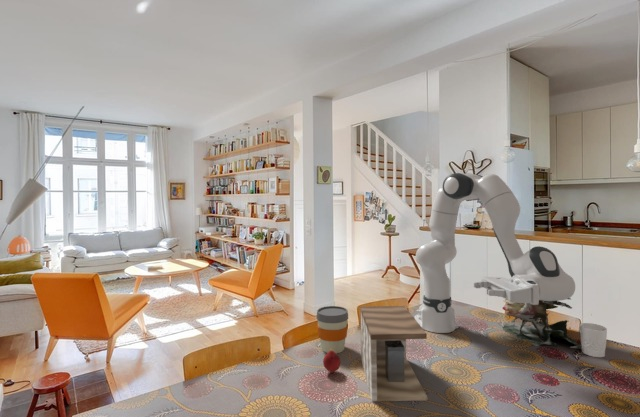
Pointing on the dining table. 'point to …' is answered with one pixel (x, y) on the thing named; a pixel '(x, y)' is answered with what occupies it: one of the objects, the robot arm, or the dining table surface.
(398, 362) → the tea tin
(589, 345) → the white cup
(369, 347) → the wooden cubby shelf
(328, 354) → the red rounded piece
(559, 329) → the rose bouquet
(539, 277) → the robot arm
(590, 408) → the dining table surface
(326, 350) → the reusable coffee cup
